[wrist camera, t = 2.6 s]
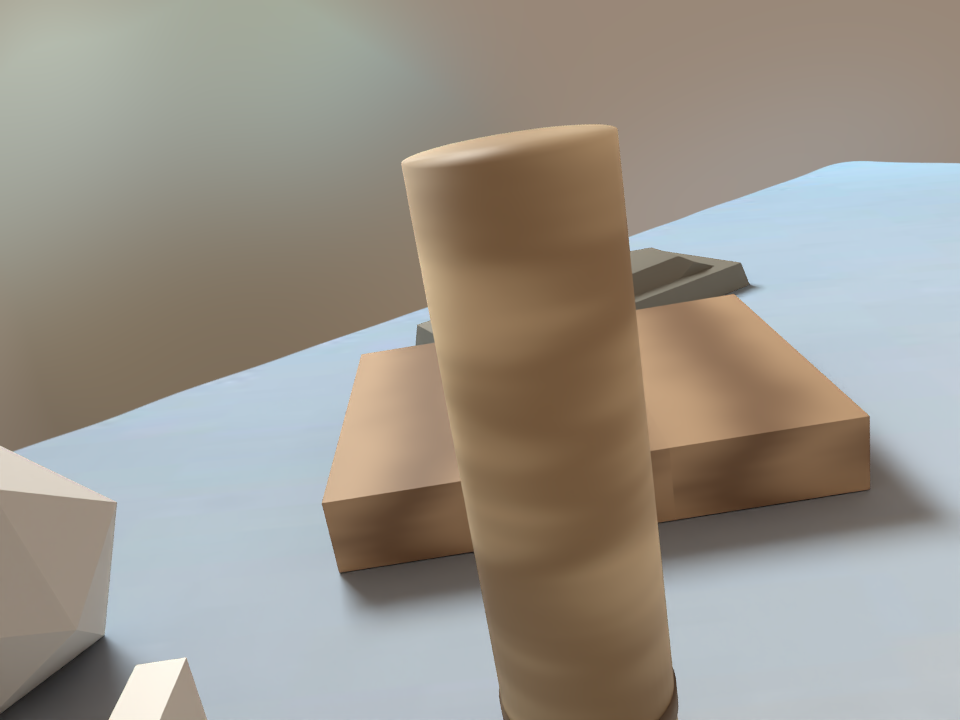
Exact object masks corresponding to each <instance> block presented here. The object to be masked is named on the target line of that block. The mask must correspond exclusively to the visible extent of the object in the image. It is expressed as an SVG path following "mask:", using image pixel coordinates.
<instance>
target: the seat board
mask: <svg viewBox="0 0 960 720" xmlns="http://www.w3.org/2000/svg"><path fill="white" fill-rule="evenodd" d="M636 316H637V326H638V336H639V346H640V355H641V365H642V375H643V385H644V394H645V404H646V414H647V424H648V433H649V443H650V453H651V463H652V473H653V482H654V492H655V502H656V512H657V521H658V523H659V522H665V521H671V520H678V519H684V518H690V517H697V516H703V515H709V514H716V513H722V512H728V511H735V510H741V509H748V508H754V507H760V506H767V505H773V504H779V503H786V502H792V501H798V500H805V499H811V498H817V497H824V496H830V495H837V494H843V493H849V492H856V491H862V490H868V489H870V416H869V415H868V414H867V413H866V412H864V411H863V410H862V409H861V408H860V407H859V406H858V405H857V404H856V403H854V402H853V401H852V400H851V399H850V398H849V397H848V396H847V395H846V394H844V393H843V392H842V391H841V390H840V389H839V388H838V387H837V386H836V385H834V384H833V383H832V382H831V381H830V380H829V379H828V378H827V377H826V376H824V375H823V374H822V373H821V372H820V371H819V370H818V369H817V368H816V367H814V366H813V365H812V364H811V363H810V362H809V361H808V360H807V359H806V358H804V357H803V356H802V355H801V354H800V353H799V352H798V351H797V350H796V349H794V348H793V347H792V346H791V345H790V344H789V343H788V342H787V341H786V340H784V339H783V338H782V337H781V336H780V335H779V334H778V333H777V332H776V331H774V330H773V329H772V328H771V327H770V326H769V325H768V324H767V323H766V322H764V321H763V320H762V319H761V318H760V317H759V316H758V315H757V314H756V313H754V312H753V311H752V310H751V309H750V308H749V307H748V306H747V305H746V304H744V303H743V302H742V301H741V300H740V299H739V298H738V297H737V296H736V295H734V294H731V295H725V296H719V297H713V298H706V299H700V300H694V301H688V302H682V303H676V304H670V305H663V306H657V307H651V308H645V309H639V310H636ZM322 506H323V510H324V514H325V518H326V522H327V526H328V530H329V534H330V538H331V542H332V546H333V550H334V554H335V558H336V562H337V566H338V570H339V573H341V572H347V571H353V570H360V569H366V568H372V567H379V566H385V565H391V564H398V563H404V562H411V561H417V560H423V559H430V558H436V557H442V556H449V555H455V554H461V553H468V552H474V549H473V543H472V538H471V533H470V527H469V522H468V517H467V511H466V506H465V501H464V495H463V490H462V485H461V479H460V474H459V469H458V463H457V458H456V453H455V447H454V442H453V437H452V431H451V426H450V421H449V416H448V410H447V405H446V400H445V394H444V389H443V384H442V378H441V373H440V368H439V362H438V357H437V352H436V346H435V343H430V344H424V345H417V346H411V347H405V348H399V349H393V350H387V351H380V352H374V353H368V354H362V355H361V358H360V362H359V366H358V370H357V373H356V377H355V381H354V385H353V388H352V392H351V396H350V400H349V403H348V407H347V411H346V414H345V418H344V422H343V426H342V429H341V433H340V437H339V441H338V444H337V448H336V452H335V456H334V459H333V463H332V467H331V471H330V474H329V478H328V482H327V486H326V489H325V493H324V497H323V501H322Z"/></svg>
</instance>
